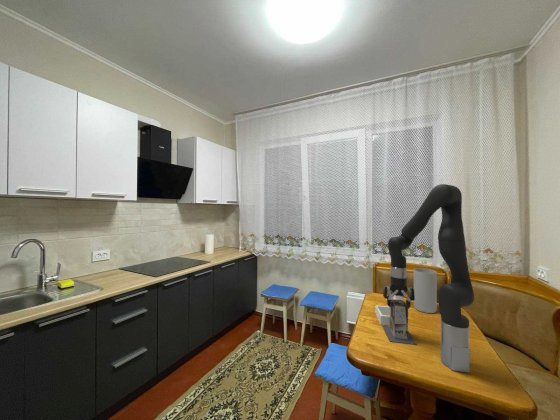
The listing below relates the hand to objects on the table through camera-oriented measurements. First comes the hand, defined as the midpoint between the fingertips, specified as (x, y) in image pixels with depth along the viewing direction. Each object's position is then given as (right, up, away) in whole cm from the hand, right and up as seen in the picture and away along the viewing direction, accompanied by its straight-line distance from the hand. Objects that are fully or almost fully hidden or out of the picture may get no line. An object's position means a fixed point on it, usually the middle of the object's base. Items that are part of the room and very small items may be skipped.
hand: (398, 307), depth 115 cm
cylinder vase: (+33, -15, +30) cm, 47 cm away
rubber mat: (0, -14, 0) cm, 14 cm away
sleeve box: (+2, -14, +16) cm, 21 cm away
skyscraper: (+19, -15, +38) cm, 45 cm away
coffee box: (0, -14, 0) cm, 14 cm away
